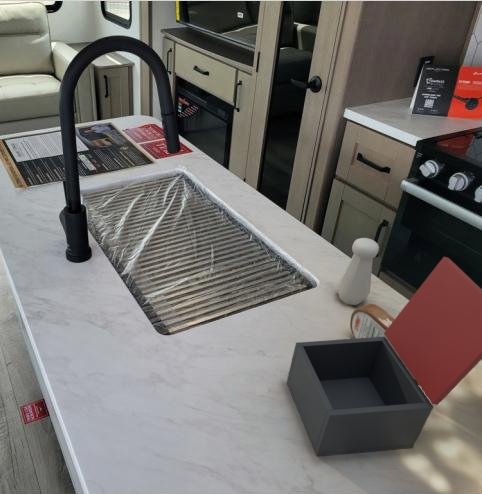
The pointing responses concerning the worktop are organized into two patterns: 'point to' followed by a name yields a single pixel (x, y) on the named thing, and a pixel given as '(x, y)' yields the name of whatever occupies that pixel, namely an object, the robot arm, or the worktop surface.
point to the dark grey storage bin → (356, 396)
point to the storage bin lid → (440, 330)
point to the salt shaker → (358, 272)
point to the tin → (371, 323)
